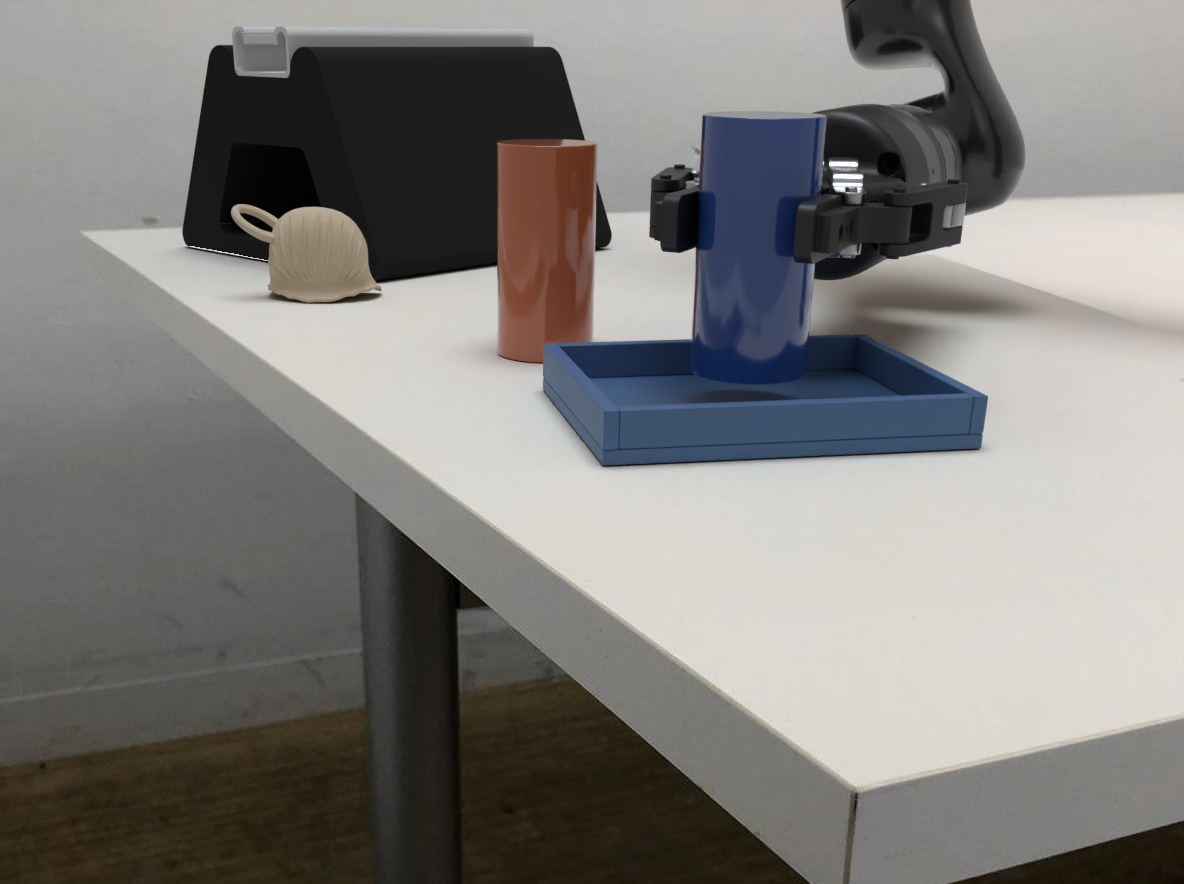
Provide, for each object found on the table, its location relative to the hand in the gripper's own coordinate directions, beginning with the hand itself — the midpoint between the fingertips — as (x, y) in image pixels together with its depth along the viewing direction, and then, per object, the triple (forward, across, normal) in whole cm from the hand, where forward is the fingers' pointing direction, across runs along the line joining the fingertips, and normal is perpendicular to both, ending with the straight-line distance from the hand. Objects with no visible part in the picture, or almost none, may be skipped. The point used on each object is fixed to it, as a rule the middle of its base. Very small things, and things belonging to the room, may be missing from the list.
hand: (736, 229), depth 53 cm
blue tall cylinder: (-3, 0, +6) cm, 7 cm away
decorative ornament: (-18, -33, +8) cm, 38 cm away
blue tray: (-3, 0, +8) cm, 8 cm away
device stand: (-38, -39, +8) cm, 55 cm away
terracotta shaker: (-10, -13, +8) cm, 18 cm away
